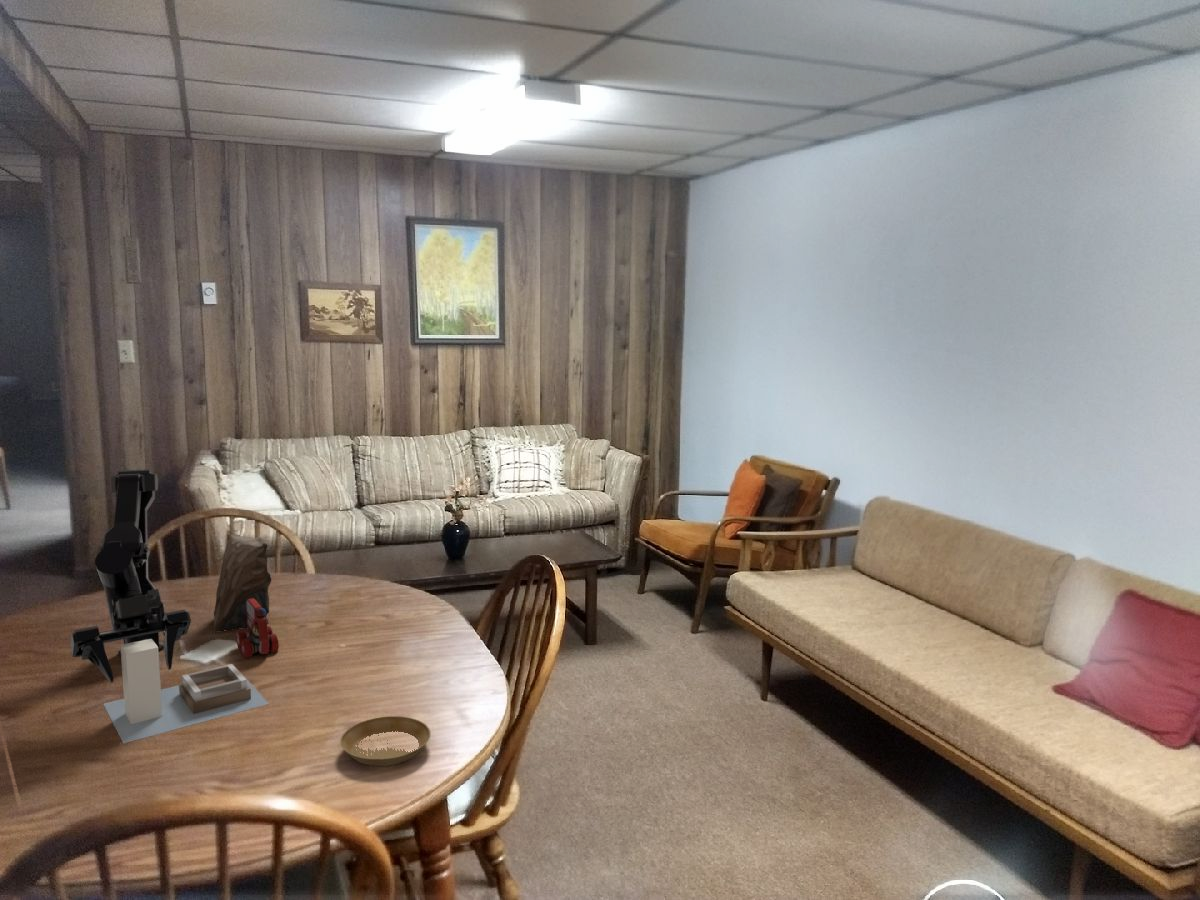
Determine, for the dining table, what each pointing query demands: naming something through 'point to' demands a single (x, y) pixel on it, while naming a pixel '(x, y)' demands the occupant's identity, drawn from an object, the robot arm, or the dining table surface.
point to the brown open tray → (214, 688)
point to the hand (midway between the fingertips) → (141, 675)
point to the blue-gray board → (173, 714)
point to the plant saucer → (387, 725)
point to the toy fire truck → (256, 632)
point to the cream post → (141, 680)
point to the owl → (241, 582)
